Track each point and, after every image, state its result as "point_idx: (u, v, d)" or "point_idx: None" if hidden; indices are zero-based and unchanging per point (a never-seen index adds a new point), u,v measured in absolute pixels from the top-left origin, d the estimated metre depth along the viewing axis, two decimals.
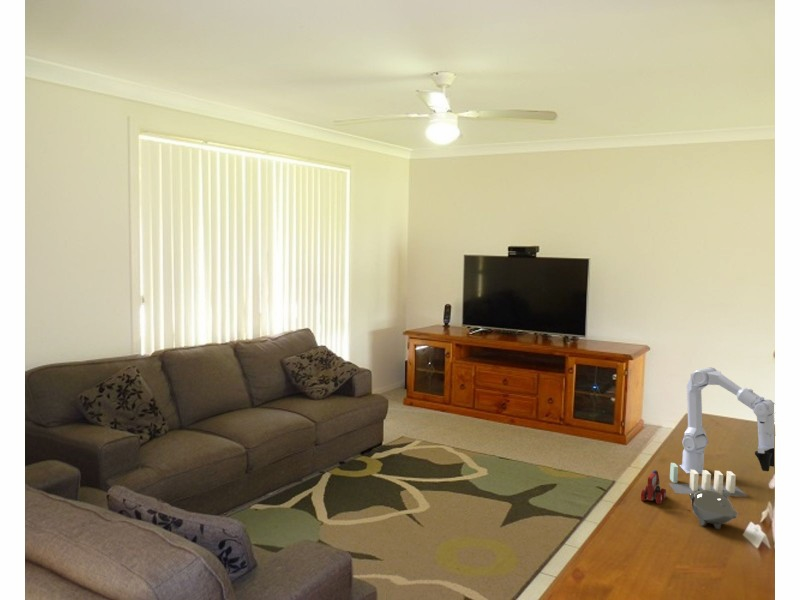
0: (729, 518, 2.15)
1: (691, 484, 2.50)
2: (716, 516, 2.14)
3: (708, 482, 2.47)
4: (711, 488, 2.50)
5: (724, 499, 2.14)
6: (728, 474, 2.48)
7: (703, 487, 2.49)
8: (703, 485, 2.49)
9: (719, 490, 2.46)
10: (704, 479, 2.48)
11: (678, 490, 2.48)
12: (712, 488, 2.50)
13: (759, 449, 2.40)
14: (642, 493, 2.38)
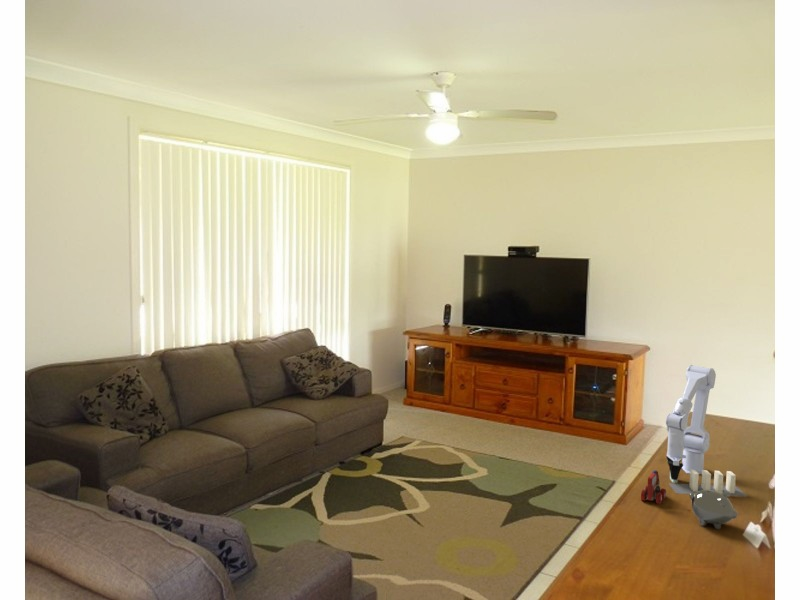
0: (729, 518, 2.15)
1: (691, 484, 2.50)
2: (716, 516, 2.15)
3: (708, 482, 2.47)
4: (711, 488, 2.50)
5: (724, 499, 2.14)
6: (728, 474, 2.48)
7: (703, 487, 2.49)
8: (703, 485, 2.49)
9: (719, 490, 2.46)
10: (704, 479, 2.48)
11: (678, 490, 2.48)
12: (712, 488, 2.50)
13: (675, 461, 2.50)
14: (642, 493, 2.38)
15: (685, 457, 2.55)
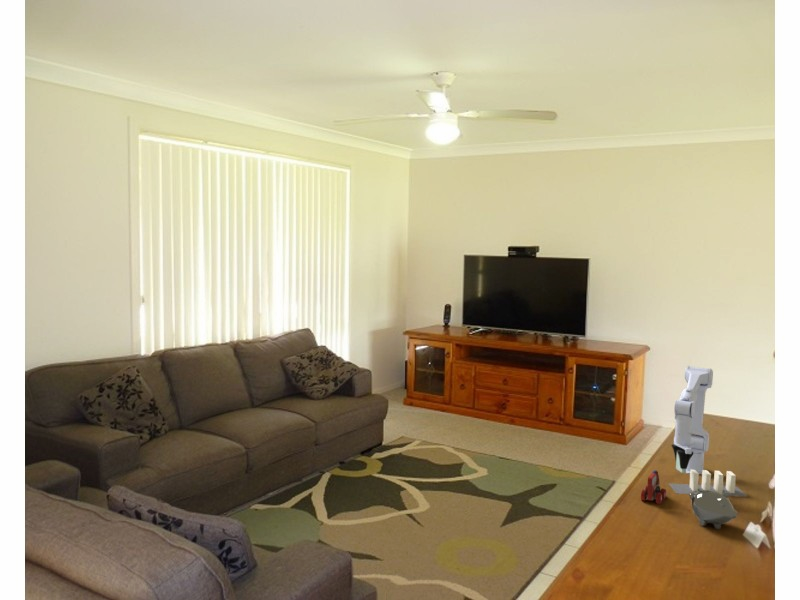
0: (729, 518, 2.15)
1: (691, 484, 2.50)
2: (716, 516, 2.14)
3: (708, 482, 2.47)
4: (711, 488, 2.50)
5: (724, 499, 2.14)
6: (728, 474, 2.48)
7: (703, 487, 2.49)
8: (703, 485, 2.49)
9: (719, 490, 2.46)
10: (704, 479, 2.48)
11: (678, 490, 2.48)
12: (712, 488, 2.50)
13: (687, 450, 2.41)
14: (642, 493, 2.38)
15: (693, 444, 2.47)
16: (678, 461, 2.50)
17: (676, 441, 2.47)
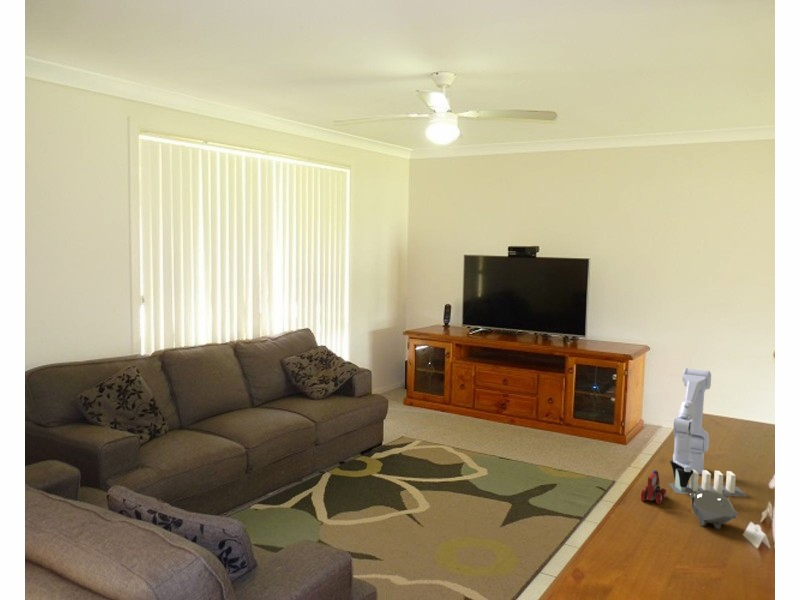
0: (729, 518, 2.15)
1: (691, 484, 2.50)
2: (716, 516, 2.15)
3: (708, 482, 2.47)
4: (711, 488, 2.50)
5: (724, 499, 2.14)
6: (728, 474, 2.48)
7: (703, 487, 2.49)
8: (703, 485, 2.49)
9: (719, 490, 2.46)
10: (704, 479, 2.48)
11: (678, 490, 2.48)
12: (712, 488, 2.50)
13: (686, 468, 2.42)
14: (642, 493, 2.38)
15: (692, 462, 2.48)
16: (677, 479, 2.50)
17: (675, 459, 2.48)
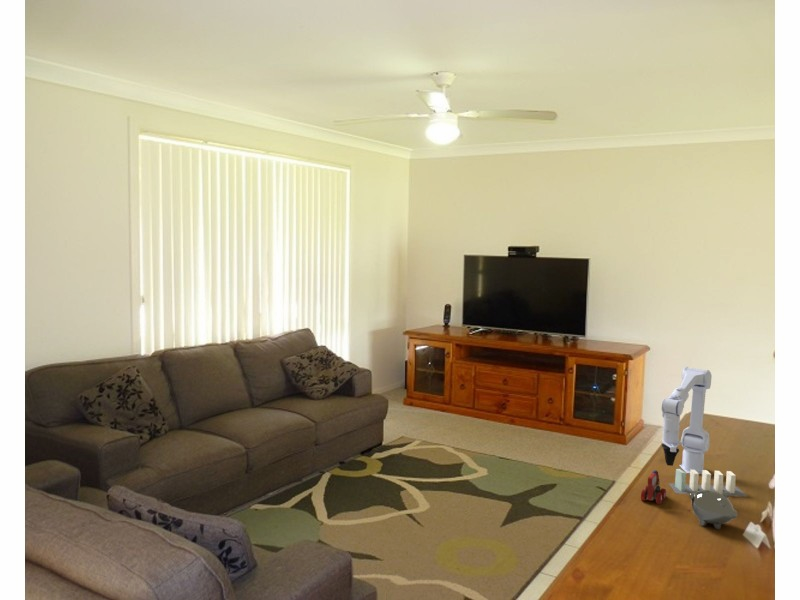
0: (729, 518, 2.15)
1: (691, 484, 2.50)
2: (716, 516, 2.15)
3: (708, 482, 2.47)
4: (711, 488, 2.50)
5: (724, 499, 2.14)
6: (728, 474, 2.48)
7: (703, 487, 2.49)
8: (703, 485, 2.49)
9: (719, 490, 2.46)
10: (704, 479, 2.48)
11: (678, 490, 2.48)
12: (712, 488, 2.50)
13: (672, 448, 2.42)
14: (642, 493, 2.38)
15: (681, 443, 2.47)
16: (677, 479, 2.50)
17: (663, 439, 2.48)
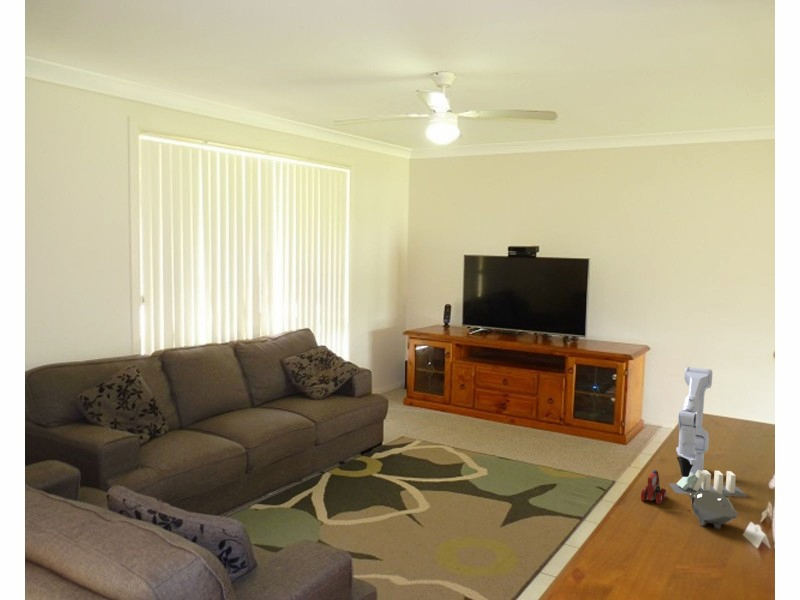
0: (729, 518, 2.15)
1: (693, 483, 2.50)
2: (716, 516, 2.14)
3: (708, 482, 2.47)
4: (711, 488, 2.50)
5: (724, 499, 2.14)
6: (728, 474, 2.48)
7: (703, 487, 2.49)
8: (703, 485, 2.49)
9: (719, 490, 2.46)
10: (704, 479, 2.48)
11: (678, 490, 2.48)
12: (712, 488, 2.50)
13: (692, 461, 2.41)
14: (642, 493, 2.38)
15: (697, 455, 2.47)
16: (684, 478, 2.51)
17: (680, 452, 2.48)
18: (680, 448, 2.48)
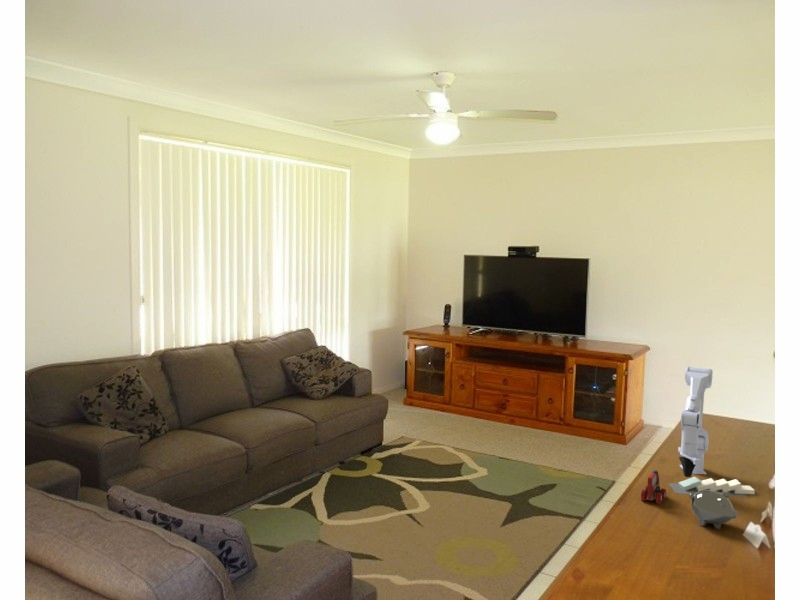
0: (729, 518, 2.15)
1: None
2: (716, 516, 2.14)
3: (720, 487, 2.46)
4: None
5: (724, 499, 2.14)
6: (749, 487, 2.48)
7: None
8: None
9: (724, 489, 2.46)
10: (719, 483, 2.48)
11: (678, 490, 2.48)
12: None
13: (696, 461, 2.41)
14: (642, 493, 2.38)
15: (699, 455, 2.48)
16: (688, 481, 2.51)
17: (683, 452, 2.47)
18: (683, 448, 2.47)
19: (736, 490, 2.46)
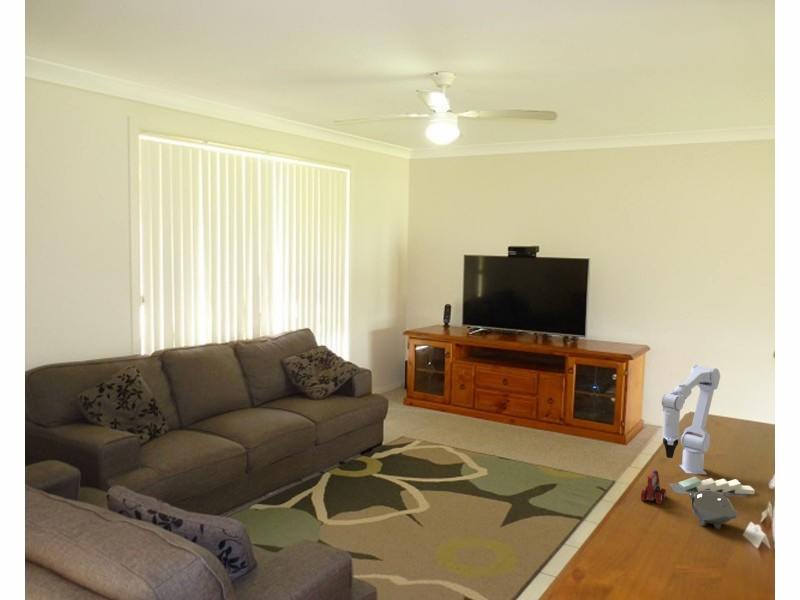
0: (729, 518, 2.15)
1: None
2: (716, 516, 2.14)
3: (720, 487, 2.46)
4: None
5: (724, 499, 2.14)
6: (749, 487, 2.48)
7: None
8: None
9: (724, 489, 2.46)
10: (719, 483, 2.48)
11: (678, 490, 2.48)
12: None
13: (669, 441, 2.50)
14: (642, 493, 2.38)
15: (681, 437, 2.54)
16: (688, 481, 2.51)
17: (663, 433, 2.56)
18: (663, 429, 2.56)
19: (736, 490, 2.46)
